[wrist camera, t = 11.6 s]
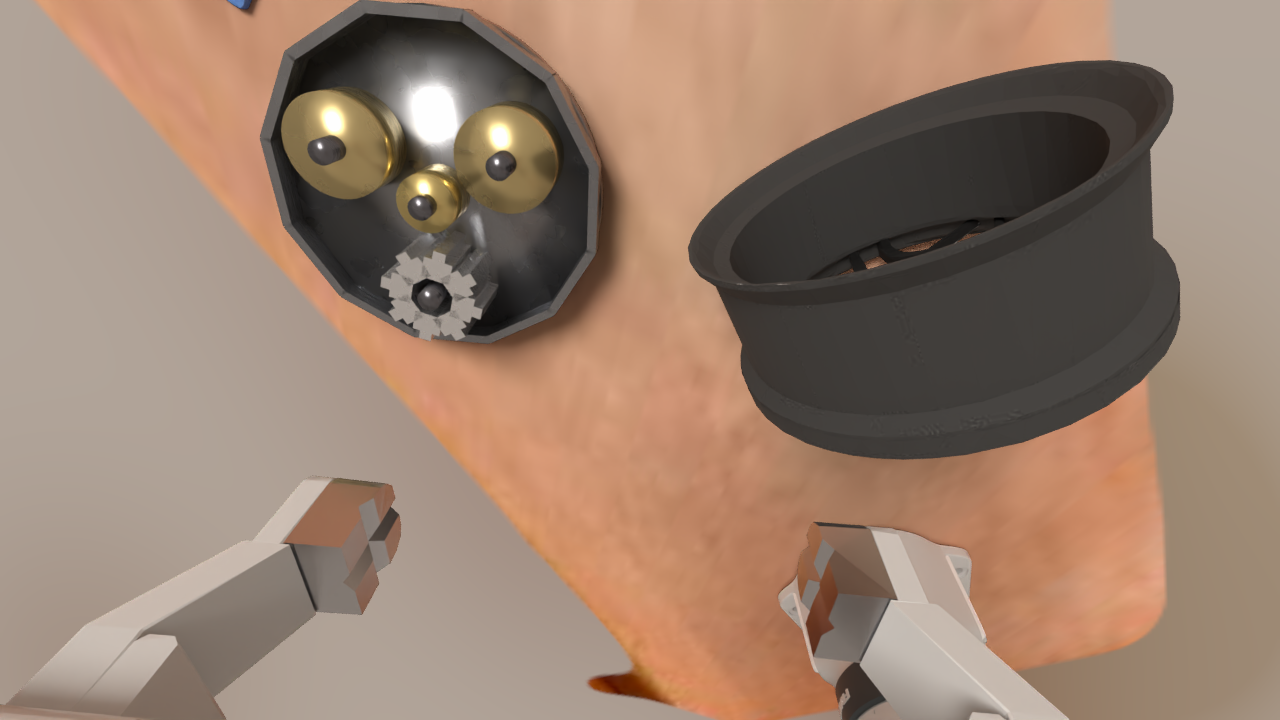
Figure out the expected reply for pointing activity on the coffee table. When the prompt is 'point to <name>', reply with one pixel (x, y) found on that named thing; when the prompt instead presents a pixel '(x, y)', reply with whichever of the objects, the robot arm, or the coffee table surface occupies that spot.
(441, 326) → the planet gear
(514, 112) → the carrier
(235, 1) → the shape sorter
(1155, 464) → the coffee table surface
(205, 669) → the robot arm
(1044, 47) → the coffee table surface
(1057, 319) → the wheel rim
